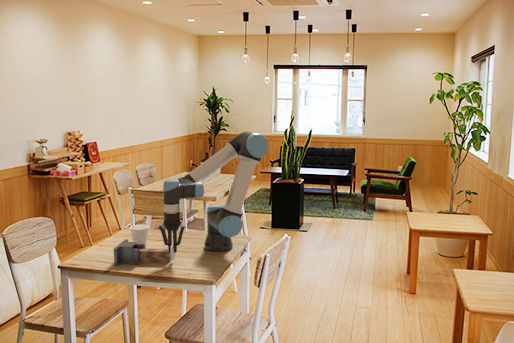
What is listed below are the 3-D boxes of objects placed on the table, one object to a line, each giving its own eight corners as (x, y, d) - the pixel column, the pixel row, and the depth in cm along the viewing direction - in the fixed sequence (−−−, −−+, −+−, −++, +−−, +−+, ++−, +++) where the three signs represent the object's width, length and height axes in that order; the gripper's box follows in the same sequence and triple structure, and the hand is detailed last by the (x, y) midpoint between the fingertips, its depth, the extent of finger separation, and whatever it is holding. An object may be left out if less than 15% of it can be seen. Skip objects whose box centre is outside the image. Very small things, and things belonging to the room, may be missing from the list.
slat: (170, 260, 252) (170, 248, 251) (169, 263, 248) (169, 251, 247) (135, 260, 252) (134, 248, 251) (132, 262, 248) (132, 251, 247)
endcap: (147, 256, 257) (147, 240, 256) (137, 266, 243) (136, 249, 241) (125, 255, 259) (125, 239, 257) (114, 265, 244) (113, 248, 242)
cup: (145, 250, 267) (144, 230, 265) (127, 249, 269) (126, 228, 267) (152, 244, 276) (151, 225, 274) (135, 243, 278) (134, 223, 276)
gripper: (186, 210, 247) (187, 256, 251) (160, 209, 248) (162, 255, 252) (183, 214, 239) (184, 261, 243) (156, 213, 241) (157, 260, 245)
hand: (172, 258), depth 248 cm, fingers closed
